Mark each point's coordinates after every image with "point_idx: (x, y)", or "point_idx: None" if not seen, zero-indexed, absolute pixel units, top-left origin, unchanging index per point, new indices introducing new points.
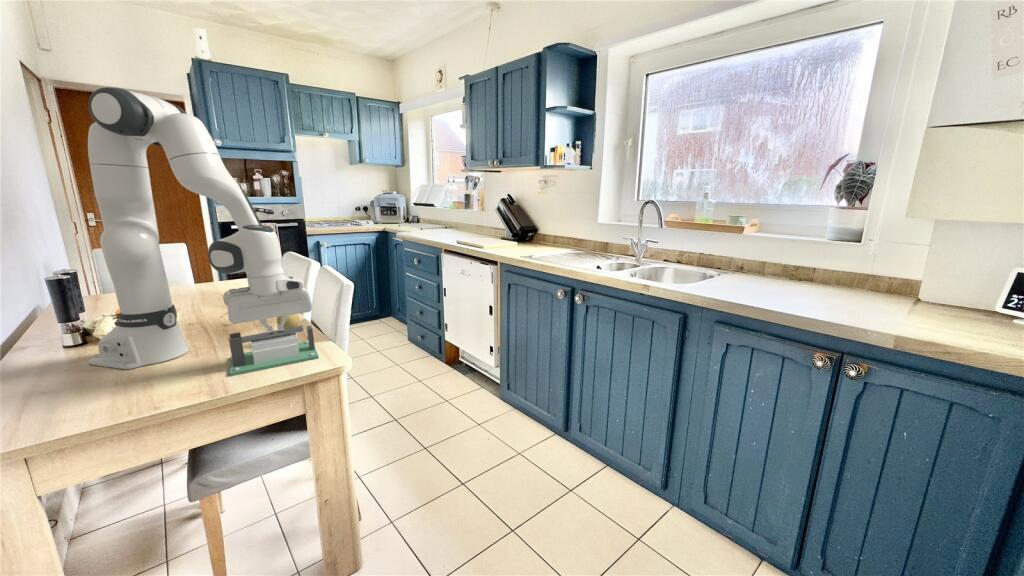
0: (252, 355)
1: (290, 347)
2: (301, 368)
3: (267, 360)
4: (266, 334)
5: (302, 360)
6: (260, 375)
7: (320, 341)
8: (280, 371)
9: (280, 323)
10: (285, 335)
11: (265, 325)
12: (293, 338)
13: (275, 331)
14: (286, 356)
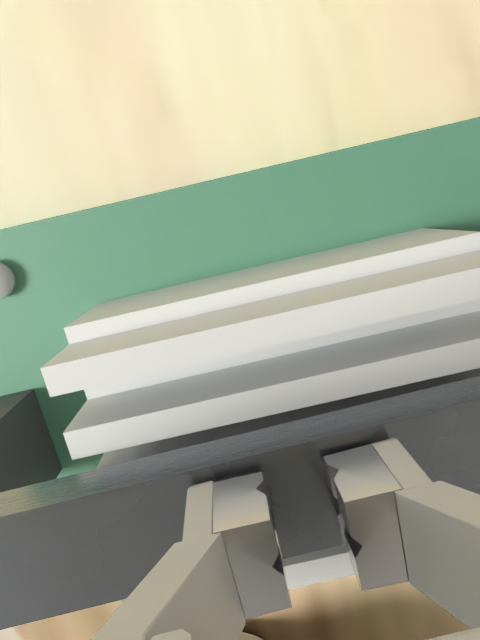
0: None
1: (142, 304)
2: (47, 59)
3: (333, 248)
4: (403, 436)
5: (66, 214)
6: (348, 26)
7: None
8: (207, 56)
9: (241, 630)
10: None
11: (470, 509)
12: (83, 356)
13: (305, 512)
14: (194, 284)
